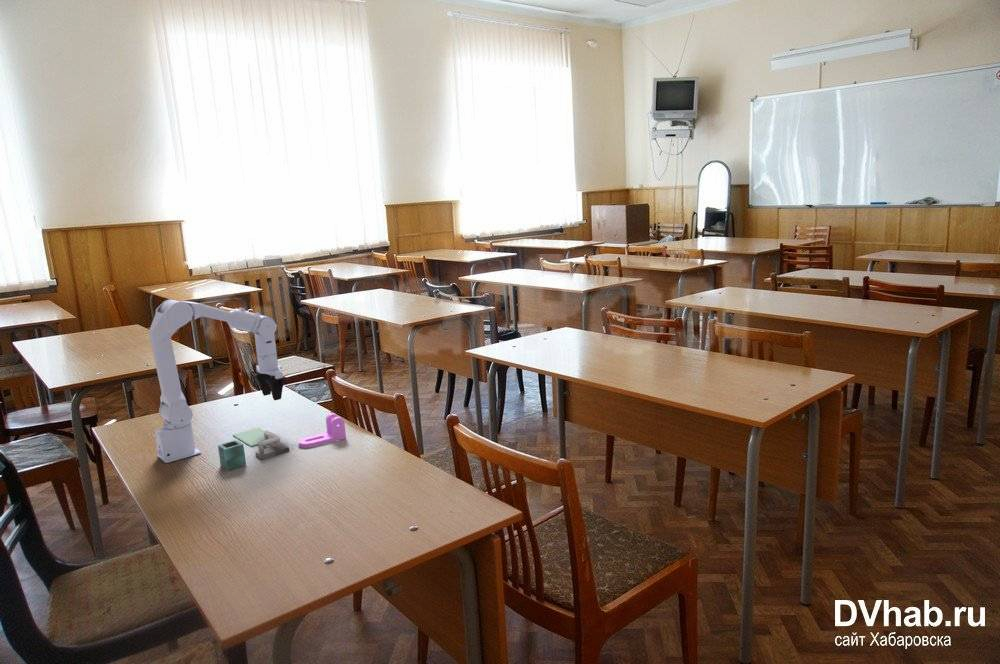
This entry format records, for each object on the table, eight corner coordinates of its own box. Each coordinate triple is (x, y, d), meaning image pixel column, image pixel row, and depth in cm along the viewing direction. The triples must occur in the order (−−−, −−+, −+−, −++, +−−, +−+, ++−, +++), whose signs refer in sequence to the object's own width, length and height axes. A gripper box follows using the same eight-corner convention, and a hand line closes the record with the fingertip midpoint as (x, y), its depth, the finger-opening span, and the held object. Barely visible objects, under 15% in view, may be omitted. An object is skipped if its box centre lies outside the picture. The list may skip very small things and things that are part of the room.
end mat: (251, 446, 194) (251, 445, 193) (232, 435, 204) (232, 434, 204) (277, 439, 199) (277, 437, 199) (258, 428, 209) (258, 427, 209)
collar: (227, 470, 177) (224, 449, 176) (220, 465, 181) (217, 444, 179) (246, 465, 180) (243, 444, 179) (239, 460, 184) (236, 439, 183)
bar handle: (261, 459, 183) (259, 444, 183) (245, 449, 192) (243, 434, 191) (289, 451, 189) (287, 436, 188) (271, 441, 197) (270, 427, 196)
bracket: (339, 434, 201) (337, 411, 199) (346, 439, 196) (343, 416, 195) (296, 444, 194) (293, 421, 193) (302, 450, 190) (299, 426, 188)
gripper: (289, 355, 201) (294, 398, 204) (269, 348, 212) (274, 389, 214) (267, 360, 196) (272, 404, 199) (247, 353, 207) (253, 395, 210)
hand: (272, 397), depth 207 cm, fingers open, 7 cm apart
